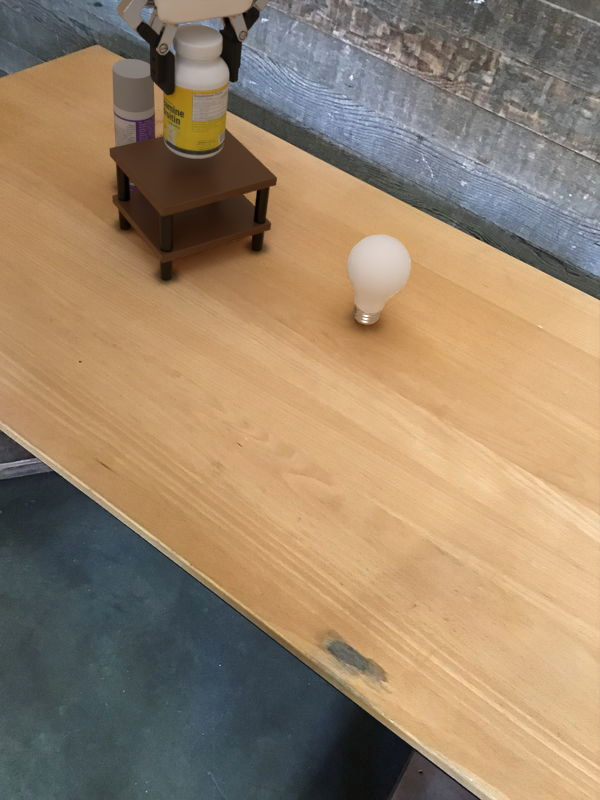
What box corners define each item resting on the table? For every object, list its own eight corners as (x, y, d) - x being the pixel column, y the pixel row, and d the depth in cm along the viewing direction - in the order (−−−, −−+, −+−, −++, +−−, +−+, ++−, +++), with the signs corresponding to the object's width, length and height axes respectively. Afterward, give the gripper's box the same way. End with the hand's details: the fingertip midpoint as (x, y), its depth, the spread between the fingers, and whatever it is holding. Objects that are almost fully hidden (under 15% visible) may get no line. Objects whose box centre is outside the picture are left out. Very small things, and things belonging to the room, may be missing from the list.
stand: (162, 284, 84) (162, 208, 76) (113, 224, 89) (109, 147, 82) (268, 250, 90) (277, 177, 83) (216, 196, 96) (220, 123, 88)
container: (151, 173, 97) (150, 57, 86) (159, 194, 94) (158, 78, 83) (114, 175, 96) (108, 58, 84) (121, 197, 93) (115, 79, 82)
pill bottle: (163, 126, 82) (164, 16, 73) (223, 130, 83) (230, 22, 74) (162, 159, 78) (162, 47, 69) (225, 164, 79) (232, 53, 70)
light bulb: (355, 292, 87) (375, 212, 79) (404, 320, 85) (430, 241, 77) (323, 321, 83) (340, 240, 75) (373, 351, 81) (397, 271, 73)
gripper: (265, -147, 68) (249, 52, 81) (82, -140, 60) (97, 79, 73) (314, -118, 64) (288, 85, 78) (126, -107, 56) (133, 117, 70)
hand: (195, 80), depth 75 cm, fingers closed on pill bottle, 6 cm apart
